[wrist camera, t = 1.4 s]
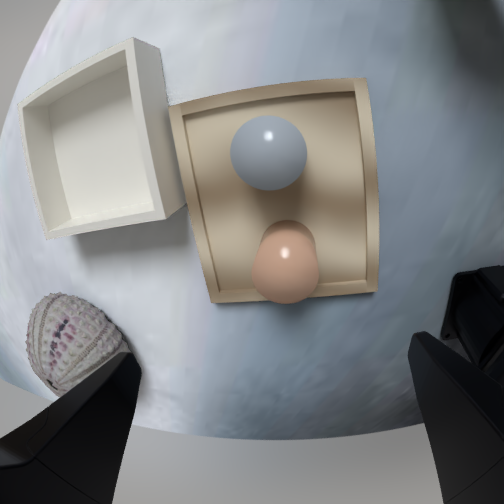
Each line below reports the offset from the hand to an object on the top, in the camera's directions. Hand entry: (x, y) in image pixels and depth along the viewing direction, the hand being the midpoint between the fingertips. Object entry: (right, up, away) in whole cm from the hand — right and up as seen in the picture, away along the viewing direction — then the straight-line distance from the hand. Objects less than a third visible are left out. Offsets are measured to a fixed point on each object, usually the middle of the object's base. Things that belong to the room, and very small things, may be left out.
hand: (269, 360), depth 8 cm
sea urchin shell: (-18, -6, +20) cm, 27 cm away
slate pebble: (+1, +9, +8) cm, 13 cm away
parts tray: (+1, +7, +10) cm, 12 cm away
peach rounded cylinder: (+2, +4, +11) cm, 12 cm away
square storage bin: (-11, +11, +10) cm, 19 cm away
